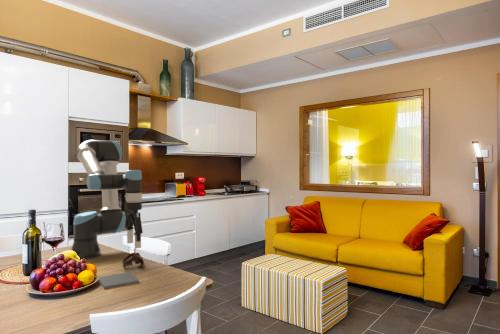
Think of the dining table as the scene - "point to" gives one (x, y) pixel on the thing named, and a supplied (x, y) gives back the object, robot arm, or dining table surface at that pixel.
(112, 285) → the slate mat
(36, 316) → the dining table surface
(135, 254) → the brown arch piece
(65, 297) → the dining table surface
